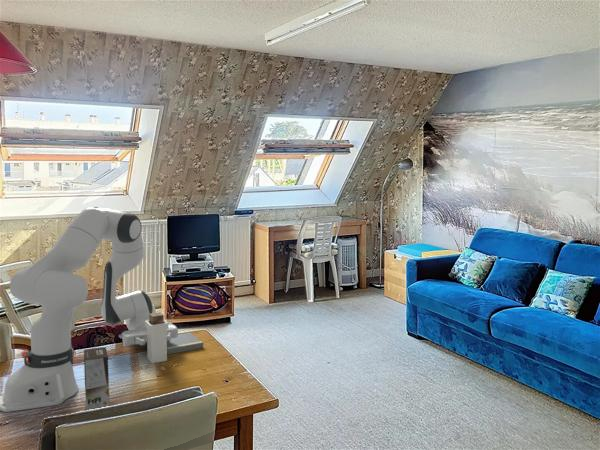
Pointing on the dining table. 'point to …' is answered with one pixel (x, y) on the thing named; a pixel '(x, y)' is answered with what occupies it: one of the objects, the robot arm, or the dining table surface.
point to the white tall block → (156, 341)
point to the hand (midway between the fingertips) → (156, 340)
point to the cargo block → (156, 318)
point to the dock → (183, 343)
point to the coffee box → (96, 378)
